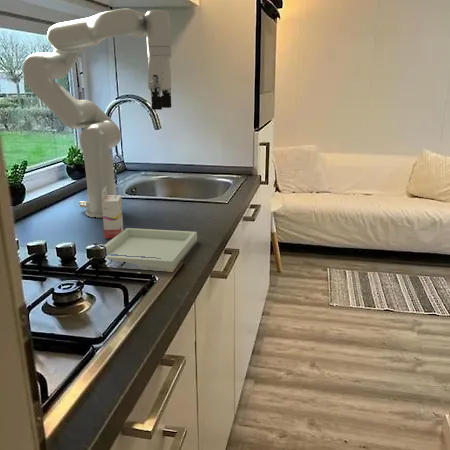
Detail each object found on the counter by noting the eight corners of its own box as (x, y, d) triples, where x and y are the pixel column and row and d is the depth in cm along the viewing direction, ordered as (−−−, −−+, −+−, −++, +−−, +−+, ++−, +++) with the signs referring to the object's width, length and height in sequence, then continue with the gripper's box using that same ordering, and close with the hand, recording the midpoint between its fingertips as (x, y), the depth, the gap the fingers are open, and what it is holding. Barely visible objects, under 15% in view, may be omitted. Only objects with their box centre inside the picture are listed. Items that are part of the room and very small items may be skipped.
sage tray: (91, 266, 123) (89, 255, 123) (127, 237, 146) (126, 228, 145) (172, 272, 119) (172, 261, 118) (197, 241, 142) (196, 231, 141)
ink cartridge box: (121, 238, 145) (117, 191, 140) (104, 239, 144) (100, 191, 140) (124, 230, 153) (120, 185, 149) (108, 230, 153) (104, 185, 148)
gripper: (157, 54, 160) (159, 107, 165) (138, 52, 144) (141, 110, 149) (178, 54, 159) (180, 107, 164) (161, 51, 143) (164, 110, 148)
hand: (162, 108), depth 157 cm, fingers open, 9 cm apart
